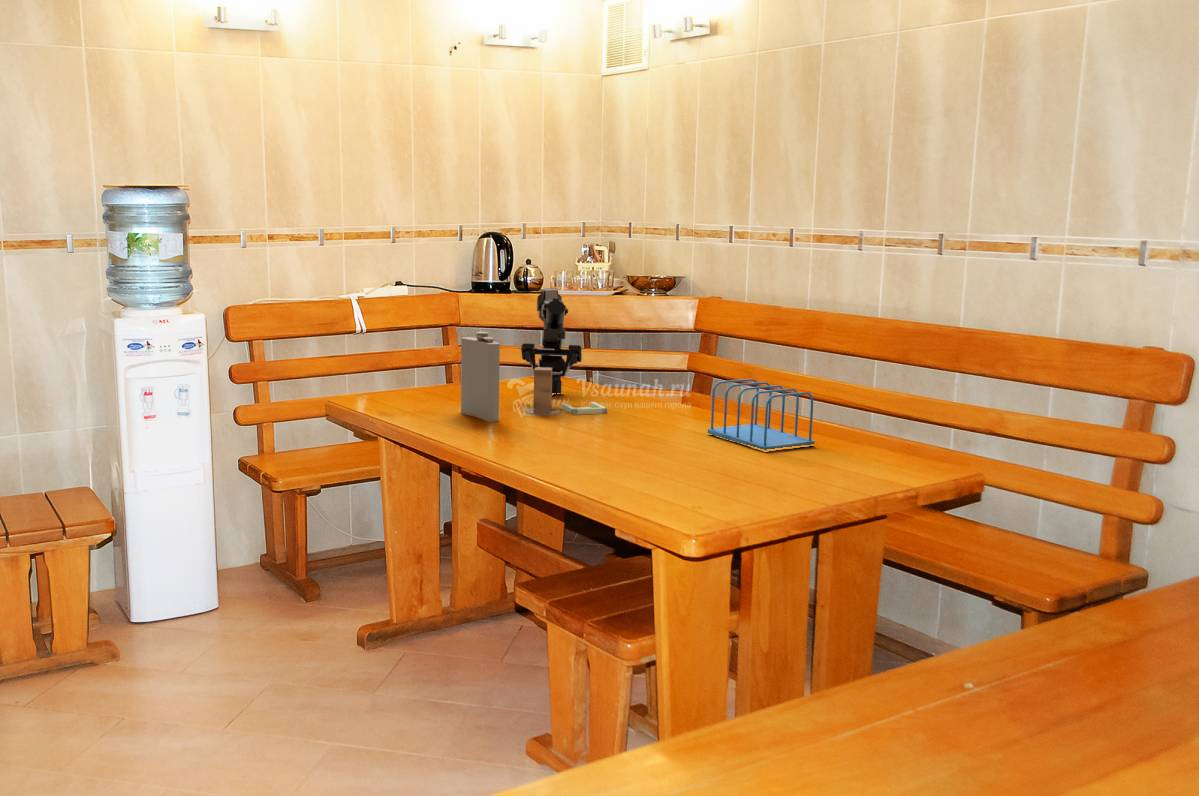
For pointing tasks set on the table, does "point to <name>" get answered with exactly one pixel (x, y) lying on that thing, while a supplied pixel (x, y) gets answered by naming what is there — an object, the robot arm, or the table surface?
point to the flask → (480, 377)
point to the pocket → (585, 409)
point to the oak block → (542, 390)
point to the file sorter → (763, 434)
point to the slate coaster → (553, 412)
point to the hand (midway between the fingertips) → (549, 374)
